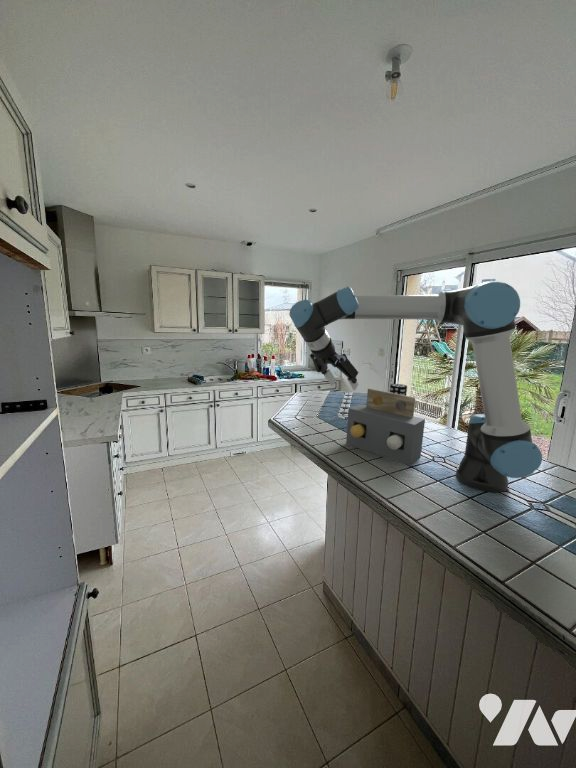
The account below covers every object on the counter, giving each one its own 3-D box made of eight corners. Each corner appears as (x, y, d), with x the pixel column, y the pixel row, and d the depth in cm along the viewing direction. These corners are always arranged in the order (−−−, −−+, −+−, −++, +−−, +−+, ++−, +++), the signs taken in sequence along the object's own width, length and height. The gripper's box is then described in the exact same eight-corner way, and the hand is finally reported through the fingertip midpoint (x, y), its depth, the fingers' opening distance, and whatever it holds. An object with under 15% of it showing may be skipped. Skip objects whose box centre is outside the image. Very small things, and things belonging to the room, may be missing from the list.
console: (409, 465, 116) (414, 424, 113) (346, 443, 135) (348, 408, 132) (420, 457, 123) (425, 419, 120) (358, 438, 142) (361, 404, 139)
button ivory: (398, 451, 115) (400, 438, 114) (386, 447, 118) (387, 434, 117) (402, 448, 118) (404, 436, 117) (390, 444, 121) (391, 432, 120)
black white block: (404, 421, 167) (408, 385, 163) (401, 426, 160) (405, 387, 156) (389, 418, 171) (392, 383, 167) (384, 422, 164) (388, 385, 160)
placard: (411, 418, 120) (414, 398, 119) (365, 407, 134) (367, 388, 132) (413, 417, 121) (415, 397, 120) (367, 406, 135) (368, 388, 133)
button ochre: (360, 439, 126) (361, 427, 125) (350, 435, 129) (350, 424, 128) (365, 437, 128) (366, 425, 127) (354, 433, 132) (355, 422, 131)
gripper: (289, 348, 107) (316, 387, 121) (343, 355, 92) (366, 398, 107) (300, 333, 109) (325, 373, 124) (354, 336, 95) (375, 381, 109)
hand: (344, 384), depth 115 cm, fingers open, 9 cm apart
